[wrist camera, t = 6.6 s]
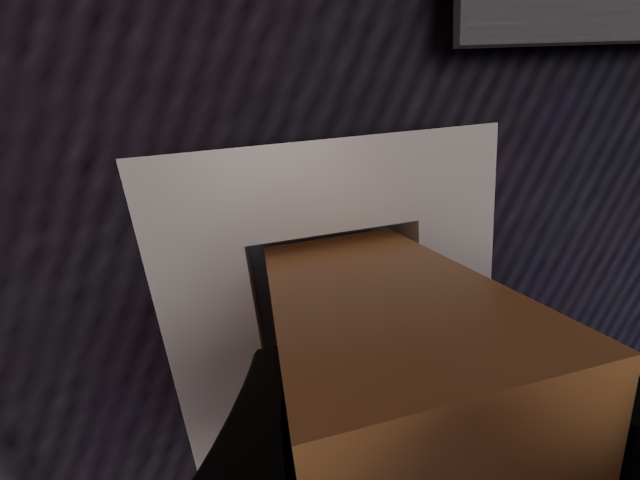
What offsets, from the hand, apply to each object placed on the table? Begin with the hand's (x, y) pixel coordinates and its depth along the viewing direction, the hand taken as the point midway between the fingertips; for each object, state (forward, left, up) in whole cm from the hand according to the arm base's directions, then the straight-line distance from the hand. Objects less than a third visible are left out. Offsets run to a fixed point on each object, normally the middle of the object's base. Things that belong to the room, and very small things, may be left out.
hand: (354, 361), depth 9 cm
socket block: (0, 0, -3) cm, 3 cm away
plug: (0, 0, -2) cm, 2 cm away
